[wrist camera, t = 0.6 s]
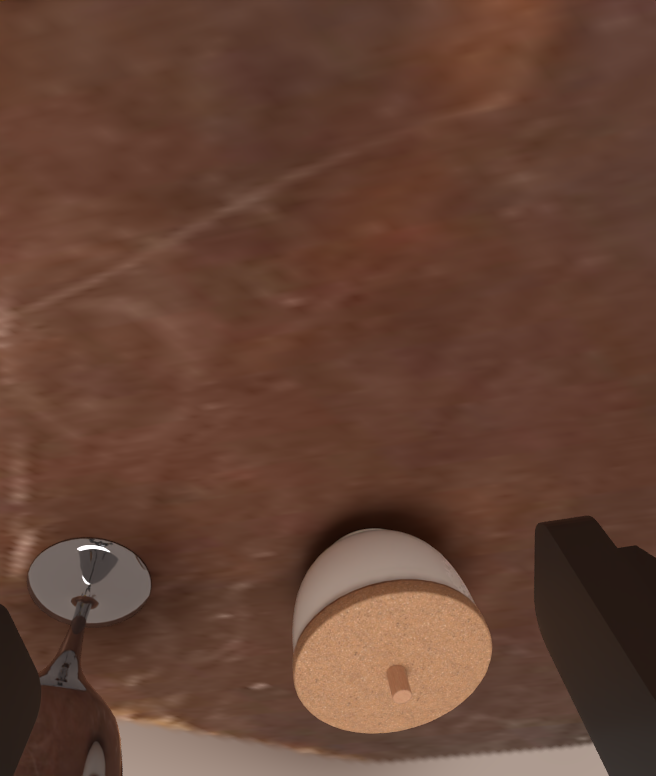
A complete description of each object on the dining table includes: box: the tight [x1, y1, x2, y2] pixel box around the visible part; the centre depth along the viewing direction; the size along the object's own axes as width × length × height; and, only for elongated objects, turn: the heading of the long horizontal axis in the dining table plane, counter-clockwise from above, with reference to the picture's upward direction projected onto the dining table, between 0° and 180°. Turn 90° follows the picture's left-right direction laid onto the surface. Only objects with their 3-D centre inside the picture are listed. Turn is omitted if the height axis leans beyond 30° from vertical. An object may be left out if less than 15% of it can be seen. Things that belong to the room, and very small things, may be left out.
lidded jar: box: [292, 528, 492, 733], centre depth 34 cm, size 11×11×9 cm
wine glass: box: [13, 538, 151, 776], centre depth 30 cm, size 8×8×15 cm
